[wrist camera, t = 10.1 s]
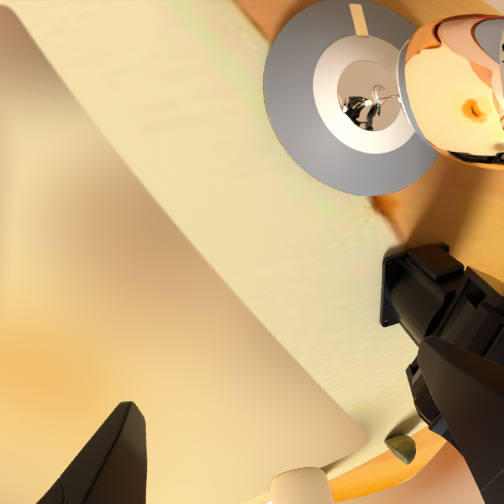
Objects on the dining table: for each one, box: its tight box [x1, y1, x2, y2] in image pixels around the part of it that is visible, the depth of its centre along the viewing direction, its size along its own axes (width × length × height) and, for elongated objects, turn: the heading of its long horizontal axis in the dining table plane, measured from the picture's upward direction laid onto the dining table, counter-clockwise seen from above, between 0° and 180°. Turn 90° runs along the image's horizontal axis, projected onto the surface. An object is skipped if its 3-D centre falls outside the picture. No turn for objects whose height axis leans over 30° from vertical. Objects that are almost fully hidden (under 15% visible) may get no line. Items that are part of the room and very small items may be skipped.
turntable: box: [263, 0, 440, 196], centre depth 16 cm, size 13×13×1 cm
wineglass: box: [336, 14, 504, 170], centre depth 10 cm, size 6×6×12 cm
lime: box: [384, 435, 416, 465], centre depth 32 cm, size 4×5×5 cm
